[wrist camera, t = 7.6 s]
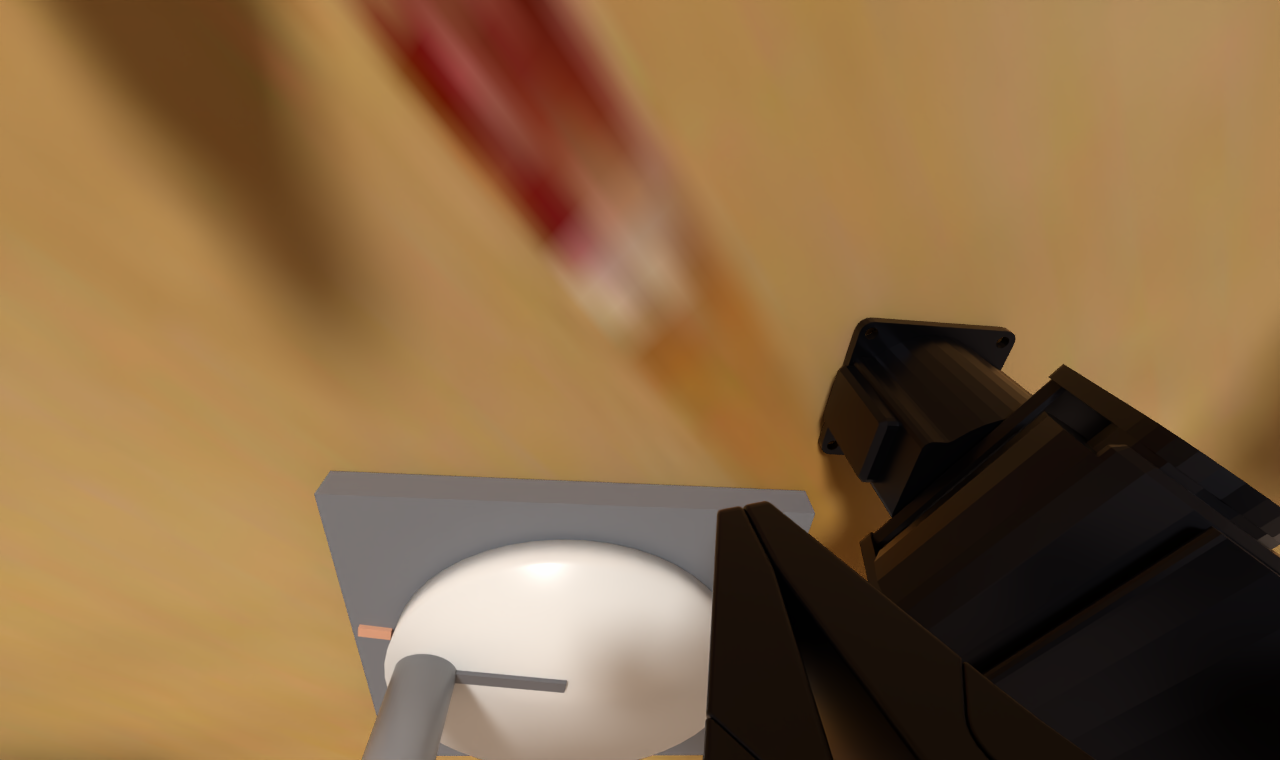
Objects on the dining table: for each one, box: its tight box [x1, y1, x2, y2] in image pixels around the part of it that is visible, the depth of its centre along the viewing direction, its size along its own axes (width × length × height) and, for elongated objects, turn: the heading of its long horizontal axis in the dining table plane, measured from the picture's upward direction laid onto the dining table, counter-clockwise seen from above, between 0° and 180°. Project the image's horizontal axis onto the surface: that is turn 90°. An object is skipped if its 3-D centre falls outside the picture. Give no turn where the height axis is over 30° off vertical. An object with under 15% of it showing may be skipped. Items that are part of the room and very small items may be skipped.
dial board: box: [314, 471, 815, 756], centre depth 30 cm, size 22×22×2 cm
